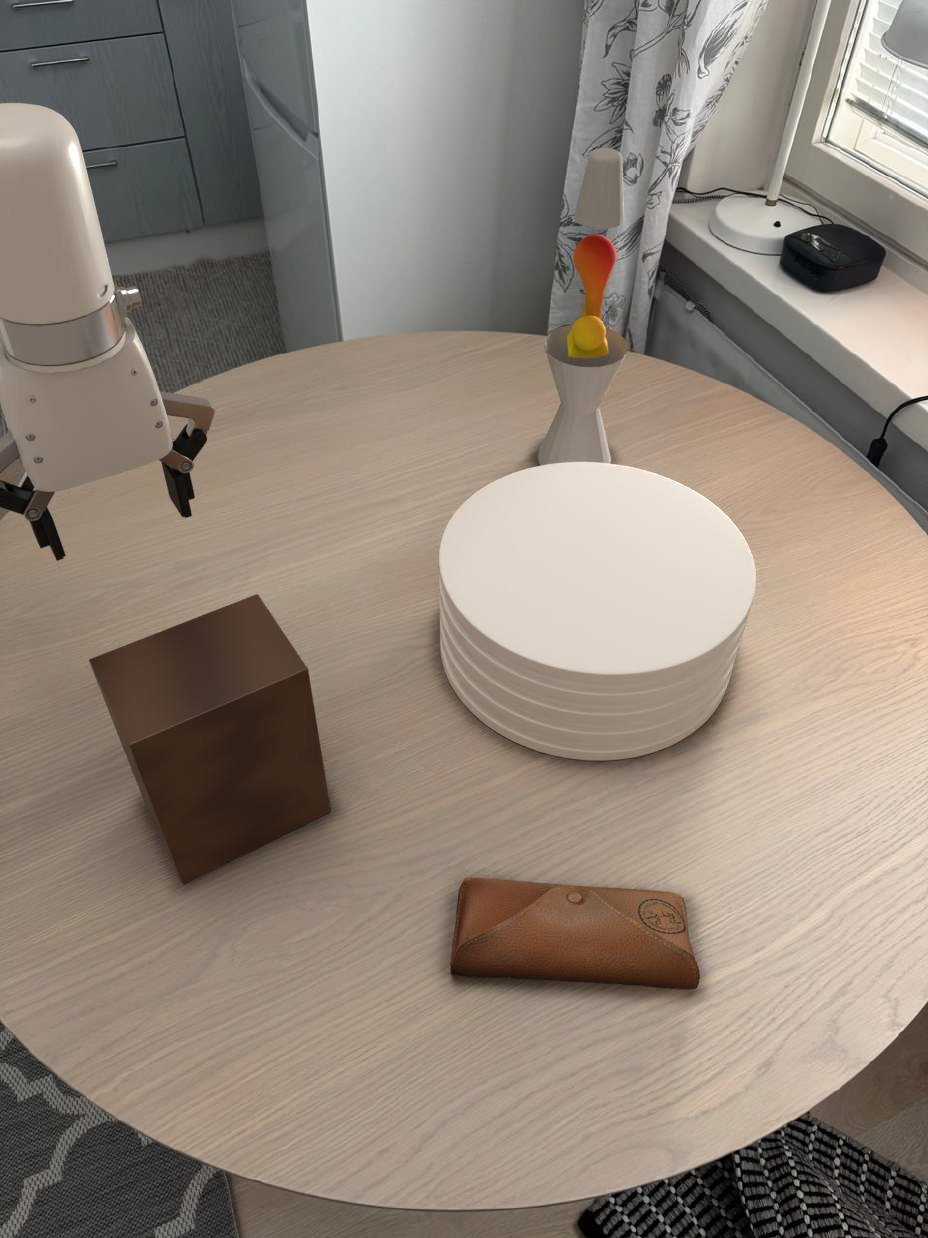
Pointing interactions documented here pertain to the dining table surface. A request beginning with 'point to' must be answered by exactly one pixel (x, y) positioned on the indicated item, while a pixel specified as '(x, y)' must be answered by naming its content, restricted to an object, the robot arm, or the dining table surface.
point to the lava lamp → (588, 325)
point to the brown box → (218, 733)
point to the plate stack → (592, 608)
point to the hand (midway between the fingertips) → (120, 527)
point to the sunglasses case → (572, 934)
